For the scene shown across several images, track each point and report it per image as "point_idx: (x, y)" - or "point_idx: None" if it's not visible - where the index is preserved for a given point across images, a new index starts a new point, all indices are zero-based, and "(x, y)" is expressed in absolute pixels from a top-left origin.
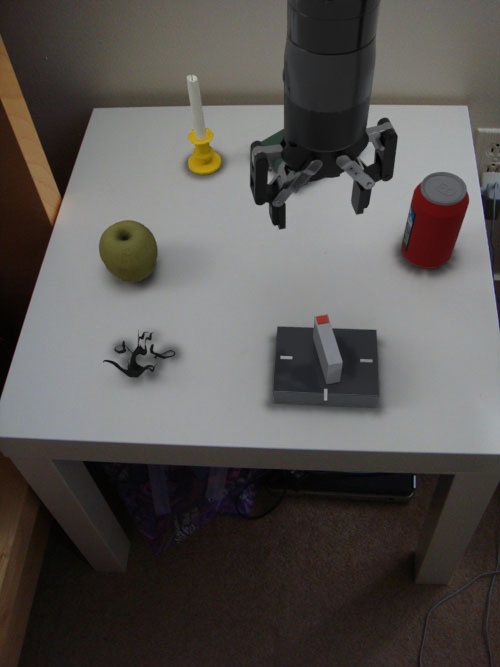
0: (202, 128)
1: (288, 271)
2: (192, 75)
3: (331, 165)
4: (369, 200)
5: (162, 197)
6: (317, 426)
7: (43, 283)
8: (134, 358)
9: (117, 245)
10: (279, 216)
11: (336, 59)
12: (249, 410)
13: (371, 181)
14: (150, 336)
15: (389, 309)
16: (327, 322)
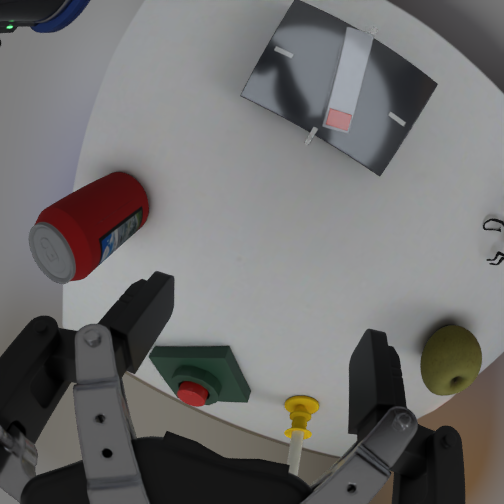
0: (295, 442)
1: (299, 258)
2: None
3: (183, 501)
4: (125, 293)
5: None
6: (386, 25)
7: (500, 353)
8: None
9: (471, 373)
10: (391, 371)
11: None
12: (454, 96)
13: (81, 345)
14: (497, 256)
15: (201, 137)
16: (333, 109)
